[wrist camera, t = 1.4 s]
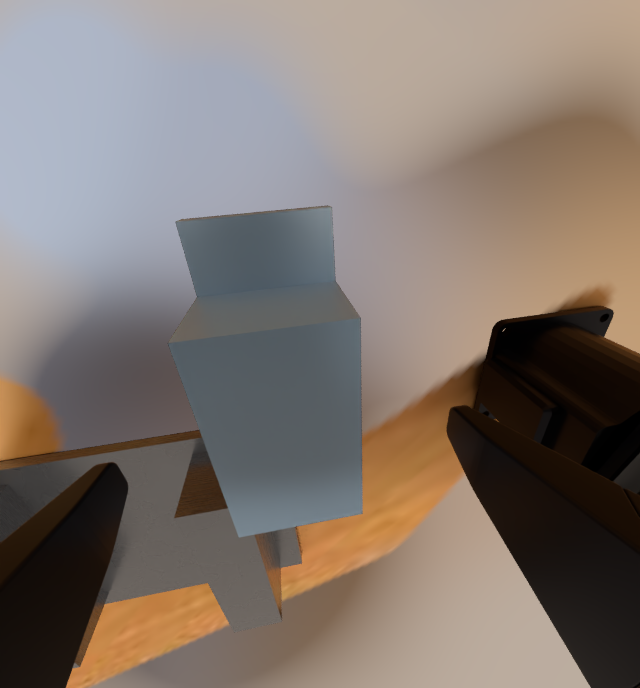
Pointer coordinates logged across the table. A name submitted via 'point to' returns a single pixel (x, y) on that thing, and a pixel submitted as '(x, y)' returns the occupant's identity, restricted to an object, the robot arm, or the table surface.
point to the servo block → (273, 367)
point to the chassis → (162, 527)
